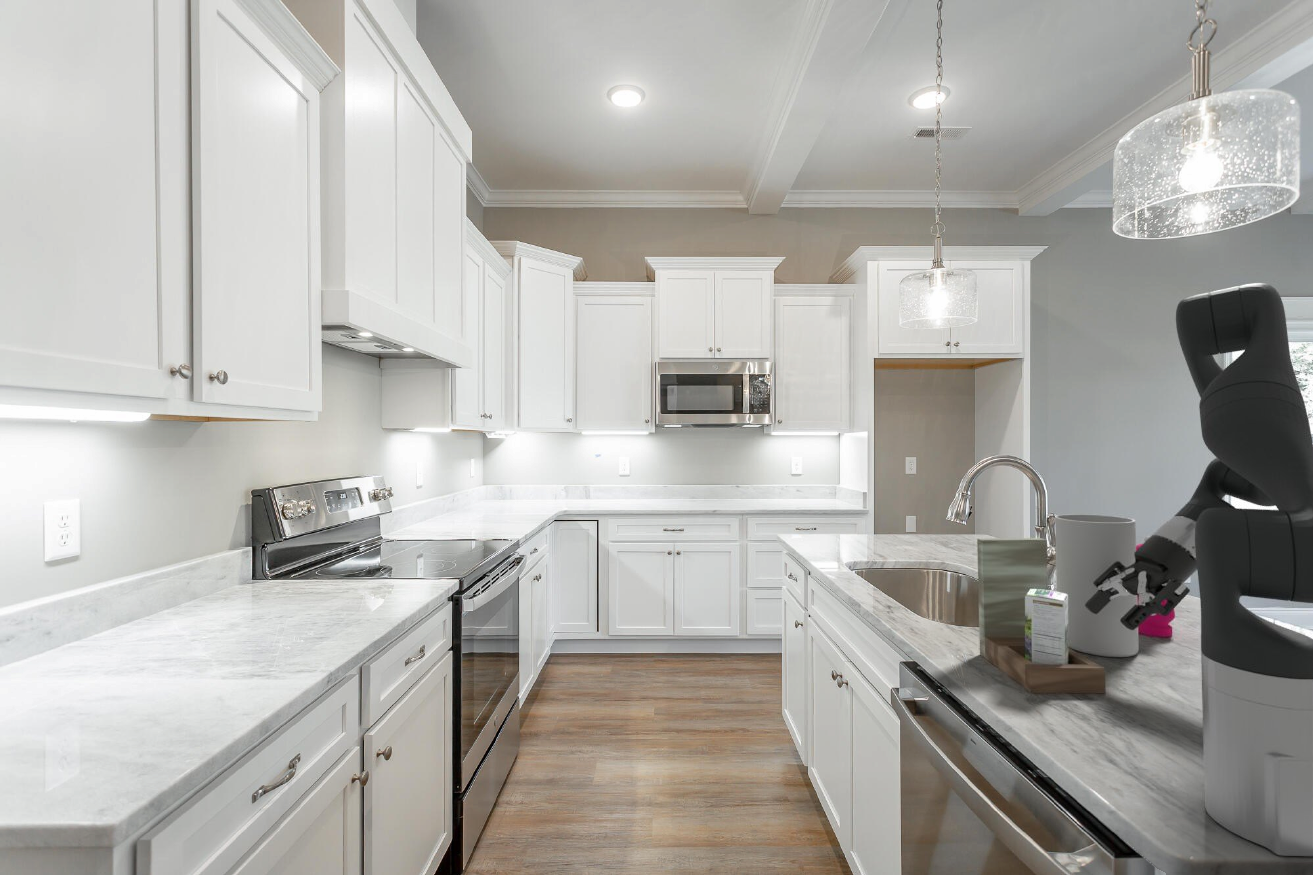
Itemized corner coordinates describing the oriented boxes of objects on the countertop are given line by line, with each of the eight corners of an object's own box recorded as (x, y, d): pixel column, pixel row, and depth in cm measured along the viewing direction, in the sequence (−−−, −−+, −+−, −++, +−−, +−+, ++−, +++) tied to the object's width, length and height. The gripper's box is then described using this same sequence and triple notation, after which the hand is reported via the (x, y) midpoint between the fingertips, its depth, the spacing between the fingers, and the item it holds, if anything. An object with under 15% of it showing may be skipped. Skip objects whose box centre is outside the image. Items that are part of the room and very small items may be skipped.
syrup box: (1029, 669, 103) (1027, 587, 103) (1070, 677, 99) (1068, 592, 99) (1025, 679, 98) (1022, 594, 98) (1067, 688, 95) (1065, 599, 95)
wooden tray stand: (1105, 693, 92) (1102, 555, 93) (1030, 692, 93) (1027, 556, 93) (1043, 654, 109) (1040, 538, 109) (979, 654, 110) (977, 538, 110)
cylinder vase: (1148, 648, 111) (1145, 518, 111) (1125, 664, 104) (1121, 525, 104) (1072, 631, 121) (1070, 512, 122) (1046, 644, 114) (1043, 518, 114)
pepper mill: (1170, 629, 121) (1168, 534, 122) (1180, 640, 115) (1177, 539, 115) (1126, 624, 125) (1124, 532, 125) (1133, 634, 119) (1131, 537, 119)
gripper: (1127, 527, 105) (1063, 591, 105) (1196, 541, 90) (1121, 615, 91) (1159, 556, 104) (1094, 620, 105) (1233, 575, 90) (1157, 648, 91)
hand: (1107, 617), depth 98 cm, fingers open, 8 cm apart
